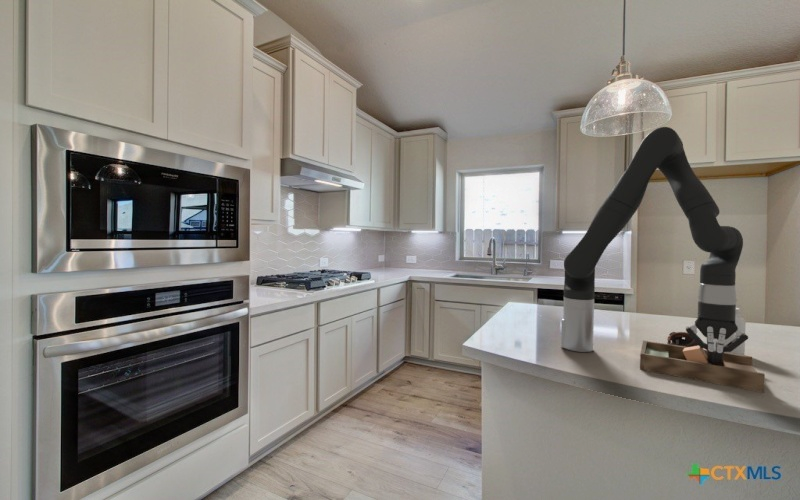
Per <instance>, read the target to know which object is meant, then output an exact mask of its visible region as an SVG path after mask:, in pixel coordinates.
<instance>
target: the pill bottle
mask: <svg viewBox="0 0 800 500" xmlns="http://www.w3.org/2000/svg"><path fill="white" fill-rule="evenodd" d="M740 313H741V308H739V307H736V315H735V323H736V325H737V327H738V330H739V331H741V332H742V333H745V334H746V325H747V324H746V323H747V322H746V320H745V319H744V318H743V317H741V314H740ZM734 335H735V333H734V334H733V335H731V336H730V337H729V338H728V339H726V340H725V341H724V346H726V345H727V344H728V343H729V342H731V341H732V340H733V339H735V337H734ZM745 350H746V341H745V342H743V343H742V344H741V345H739V346H738V347H737V348H735V349H734V350H733V351H731V352H724V353H731V354H738V355H745ZM714 351H716V339H714Z"/></svg>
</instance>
